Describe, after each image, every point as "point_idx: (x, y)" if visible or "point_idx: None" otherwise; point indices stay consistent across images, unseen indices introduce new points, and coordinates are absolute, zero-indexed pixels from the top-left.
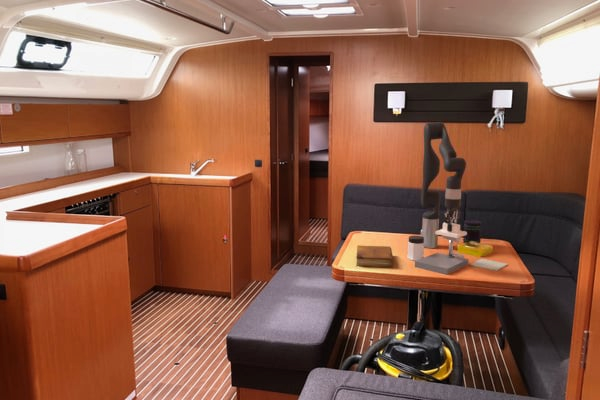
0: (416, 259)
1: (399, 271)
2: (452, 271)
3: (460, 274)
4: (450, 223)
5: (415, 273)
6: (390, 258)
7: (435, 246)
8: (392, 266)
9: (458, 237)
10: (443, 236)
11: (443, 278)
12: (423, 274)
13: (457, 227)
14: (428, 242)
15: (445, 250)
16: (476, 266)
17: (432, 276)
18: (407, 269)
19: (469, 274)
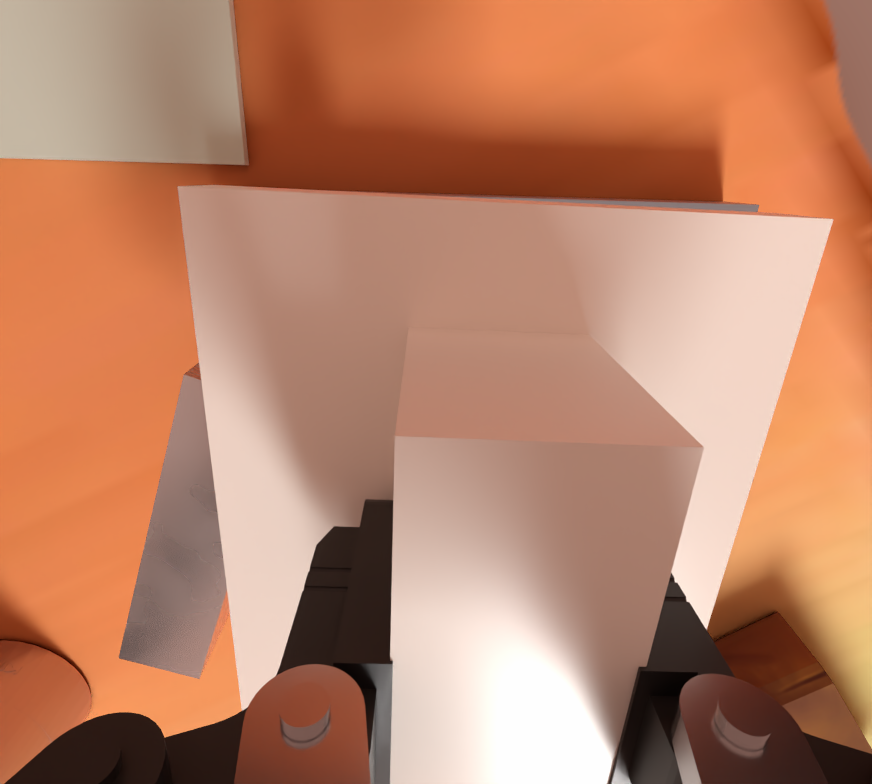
0: None
1: (840, 540)
2: (612, 198)
3: (636, 91)
4: (790, 746)
5: (832, 432)
6: (835, 688)
7: (12, 652)
8: (784, 620)
9: (702, 209)
10: (220, 627)
11: (863, 172)
12: (827, 371)
13: (649, 404)
14: (48, 720)
15: (3, 558)
16: (239, 75)
17: (849, 284)
18: (755, 523)
19: (577, 4)
